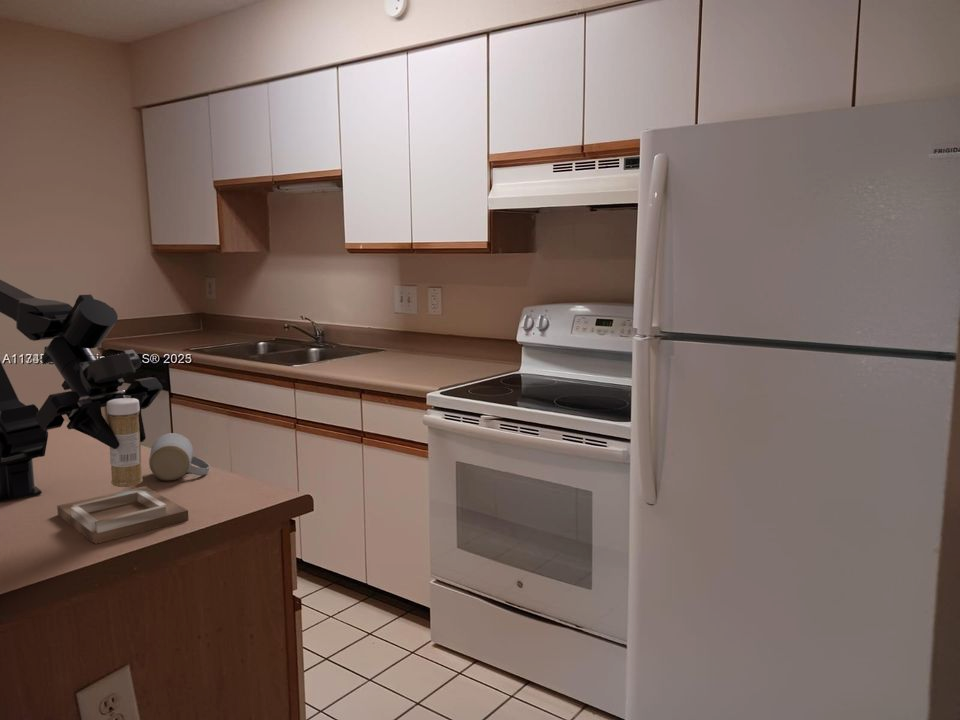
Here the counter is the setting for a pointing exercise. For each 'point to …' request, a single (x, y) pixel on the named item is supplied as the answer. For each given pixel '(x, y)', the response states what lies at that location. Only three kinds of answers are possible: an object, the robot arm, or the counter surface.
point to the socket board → (121, 514)
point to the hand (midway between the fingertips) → (130, 443)
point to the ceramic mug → (174, 458)
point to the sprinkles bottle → (125, 442)
